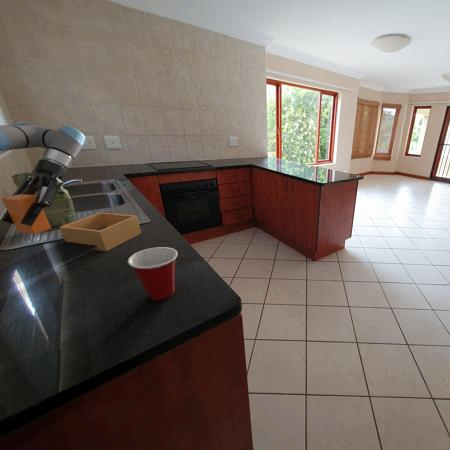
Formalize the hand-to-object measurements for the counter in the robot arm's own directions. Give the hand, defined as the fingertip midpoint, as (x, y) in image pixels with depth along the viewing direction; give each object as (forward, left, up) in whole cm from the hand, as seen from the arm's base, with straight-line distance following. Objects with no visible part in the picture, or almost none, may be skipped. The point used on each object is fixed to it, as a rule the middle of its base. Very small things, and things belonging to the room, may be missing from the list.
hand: (16, 223), depth 77 cm
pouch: (-15, +20, -12) cm, 27 cm away
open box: (+13, +16, -12) cm, 24 cm away
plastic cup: (+58, -7, -12) cm, 60 cm away
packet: (0, +4, -4) cm, 5 cm away
